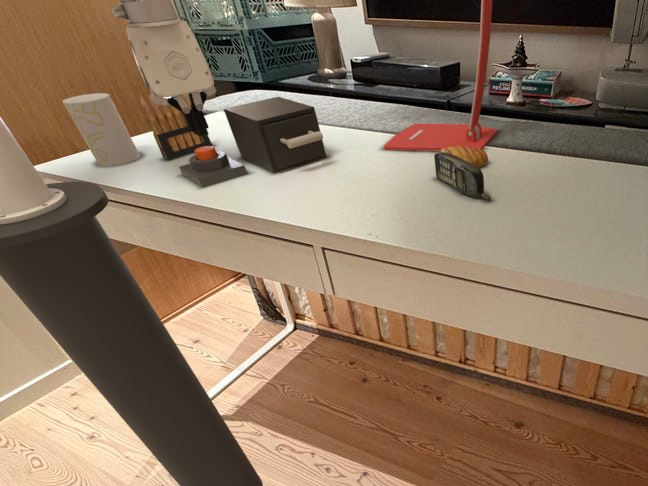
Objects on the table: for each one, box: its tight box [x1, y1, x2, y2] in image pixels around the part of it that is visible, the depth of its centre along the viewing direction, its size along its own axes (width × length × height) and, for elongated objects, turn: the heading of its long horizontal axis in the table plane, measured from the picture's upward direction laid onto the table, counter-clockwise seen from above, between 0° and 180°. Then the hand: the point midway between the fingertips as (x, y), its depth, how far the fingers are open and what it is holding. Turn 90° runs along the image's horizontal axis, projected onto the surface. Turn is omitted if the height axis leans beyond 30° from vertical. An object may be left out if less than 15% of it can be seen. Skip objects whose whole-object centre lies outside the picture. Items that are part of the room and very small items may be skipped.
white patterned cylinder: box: [61, 92, 141, 167], centre depth 97 cm, size 8×8×12 cm
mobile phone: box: [433, 151, 492, 200], centre depth 80 cm, size 5×3×15 cm
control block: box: [178, 150, 248, 188], centre depth 91 cm, size 9×10×4 cm
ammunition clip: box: [139, 94, 213, 161], centre depth 99 cm, size 11×2×12 cm, turn 146°
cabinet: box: [223, 96, 327, 174], centre depth 95 cm, size 15×12×10 cm
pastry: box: [440, 145, 489, 169], centre depth 89 cm, size 9×7×4 cm
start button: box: [194, 145, 218, 160], centre depth 89 cm, size 4×4×2 cm
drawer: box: [262, 112, 327, 169], centre depth 93 cm, size 18×11×8 cm, turn 46°
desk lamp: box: [383, 0, 498, 152], centre depth 91 cm, size 18×38×40 cm, turn 73°
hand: (201, 134), depth 87 cm, fingers closed
